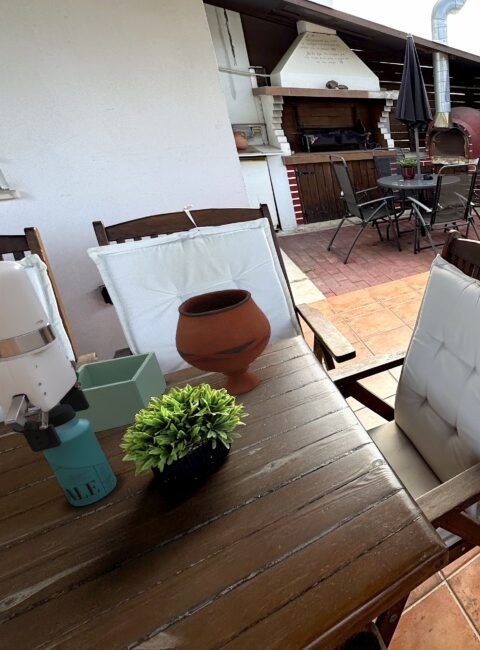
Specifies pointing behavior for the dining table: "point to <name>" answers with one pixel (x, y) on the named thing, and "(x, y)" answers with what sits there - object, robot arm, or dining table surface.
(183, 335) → the goblet
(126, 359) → the bin
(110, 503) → the dining table surface
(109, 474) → the beverage bottle
